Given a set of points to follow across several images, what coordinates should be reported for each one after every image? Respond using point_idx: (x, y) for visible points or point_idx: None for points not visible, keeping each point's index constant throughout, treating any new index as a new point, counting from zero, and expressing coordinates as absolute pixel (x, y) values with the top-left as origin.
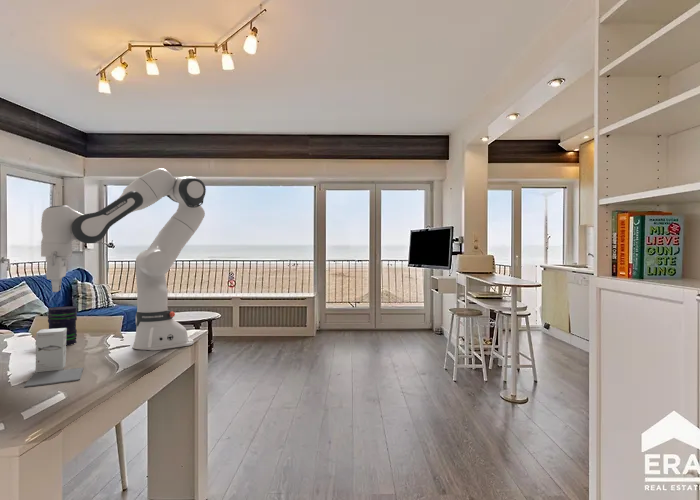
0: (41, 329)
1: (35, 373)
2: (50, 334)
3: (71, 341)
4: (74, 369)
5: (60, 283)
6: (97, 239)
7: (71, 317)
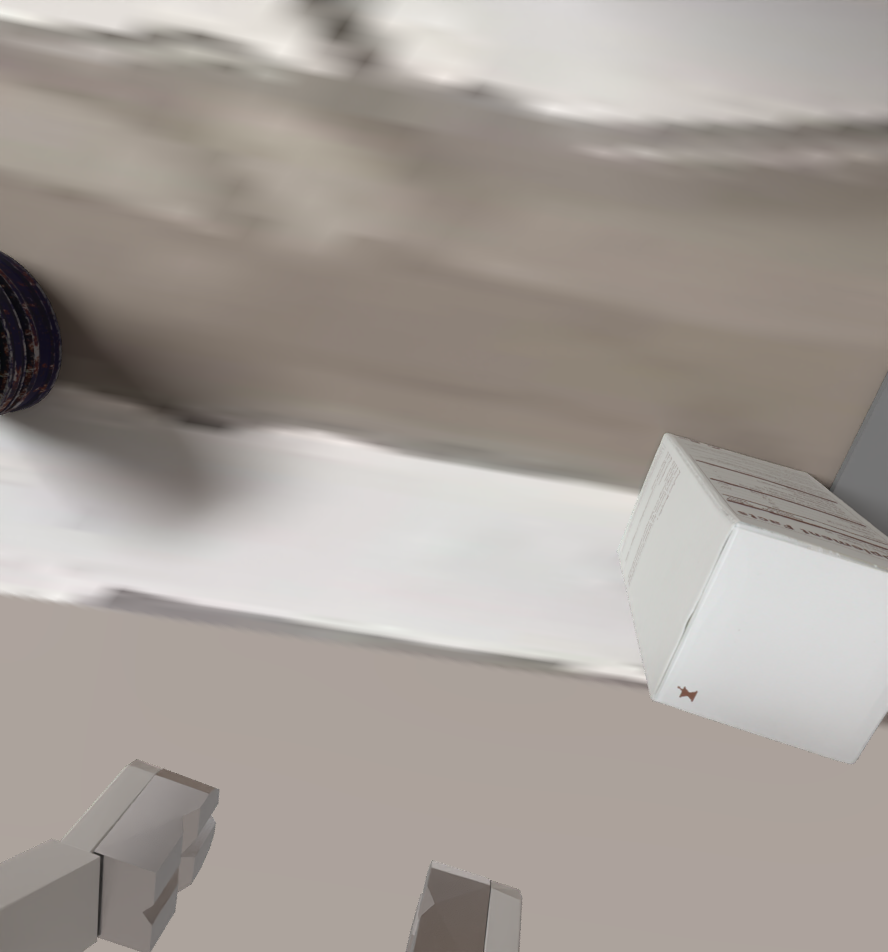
0: (675, 699)
1: None
2: None
3: (17, 286)
4: None
5: (35, 897)
6: None
7: None
